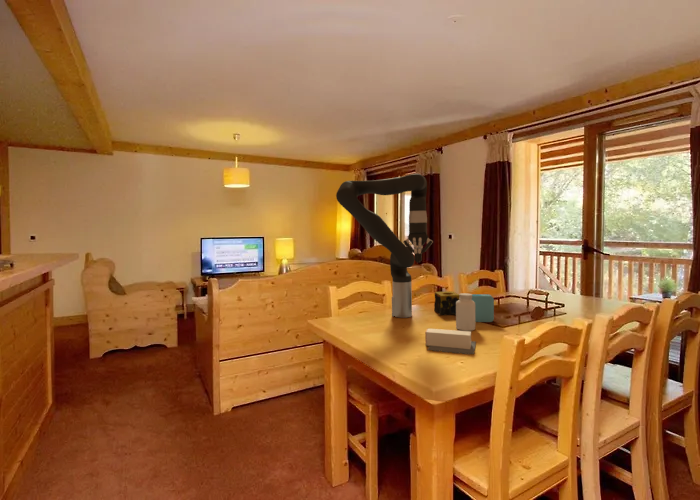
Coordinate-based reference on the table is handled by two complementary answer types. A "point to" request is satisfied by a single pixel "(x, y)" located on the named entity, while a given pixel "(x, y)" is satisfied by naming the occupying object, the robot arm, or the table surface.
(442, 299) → the black and yellow cube
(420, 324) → the table surface
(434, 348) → the mat
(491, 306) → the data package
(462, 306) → the pill bottle
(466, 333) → the cream pillar
